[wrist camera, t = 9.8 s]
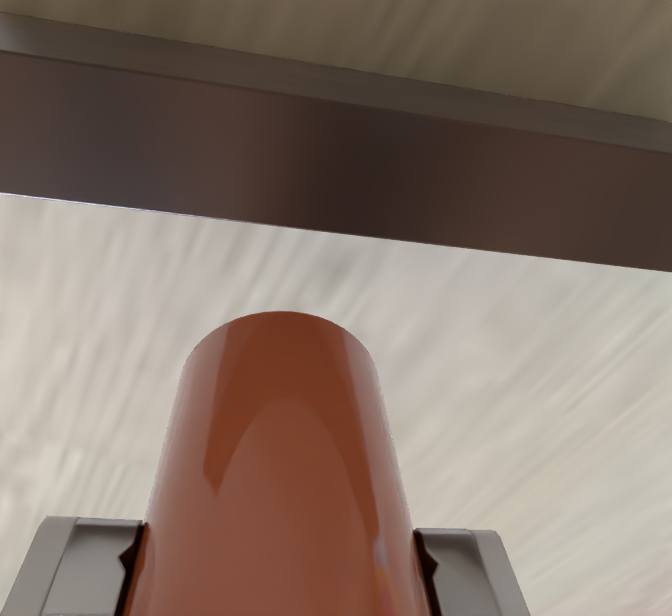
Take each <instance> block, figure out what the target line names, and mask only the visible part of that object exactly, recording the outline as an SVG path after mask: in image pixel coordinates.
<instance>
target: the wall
mask: <svg viewBox="0 0 672 616" xmlns="http://www.w3.org/2000/svg"><path fill="white" fill-rule="evenodd" d="M0 194H5V195H13V196H22V197H31V198H39V199H48V200H56V201H65V202H73V203H82V204H91V205H99V206H108V207H116V208H125V209H134V210H142V211H151V212H159V213H168V214H176V215H185V216H194V217H202V218H211V219H219V220H228V221H236V222H245V223H254V224H262V225H271V226H279V227H288V228H296V229H305V230H314V231H322V232H331V233H339V234H348V235H356V236H365V237H374V238H382V239H391V240H399V241H408V242H416V243H425V244H434V245H442V246H451V247H459V248H468V249H476V250H485V251H494V252H502V253H511V254H519V255H528V256H536V257H545V258H554V259H562V260H571V261H579V262H588V263H597V264H605V265H614V266H622V267H631V268H639V269H648V270H657V271H665V272H672V123H671V122H668V121H663V120H657V119H651V118H645V117H639V116H633V115H627V114H621V113H614V112H608V111H602V110H596V109H590V108H584V107H578V106H572V105H566V104H559V103H553V102H547V101H541V100H535V99H529V98H523V97H517V96H511V95H504V94H498V93H492V92H486V91H480V90H474V89H468V88H462V87H456V86H449V85H443V84H437V83H431V82H425V81H419V80H413V79H407V78H401V77H394V76H388V75H382V74H376V73H370V72H364V71H358V70H352V69H346V68H339V67H333V66H327V65H321V64H315V63H309V62H303V61H297V60H291V59H284V58H278V57H272V56H266V55H260V54H254V53H248V52H242V51H236V50H229V49H223V48H217V47H211V46H205V45H199V44H193V43H187V42H181V41H174V40H168V39H162V38H156V37H150V36H144V35H138V34H132V33H126V32H119V31H113V30H107V29H101V28H95V27H89V26H83V25H77V24H71V23H64V22H58V21H52V20H46V19H40V18H34V17H28V16H22V15H16V14H9V13H3V12H0Z"/></svg>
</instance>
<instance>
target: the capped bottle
mask: <svg viewBox="0 0 672 616" xmlns="http://www.w3.org/2000/svg"><path fill="white" fill-rule="evenodd" d="M120 616H433V613H432V609H431V604H430V600H429V596H428V591H427V587H426V583H425V578H424V574H423V570H422V565H421V561H420V556H419V552H418V548H417V543H416V539H415V535H414V530H413V526H412V521H411V517H410V513H409V508H408V504H407V500H406V495H405V491H404V486H403V482H402V478H401V473H400V469H399V465H398V460H397V456H396V452H395V447H394V443H393V438H392V434H391V430H390V425H389V421H388V417H387V412H386V408H385V403H384V399H383V395H382V390H381V386H380V382H379V377H378V373H377V370H376V367H375V364H374V361H373V360H372V358H371V356H370V354H369V352H368V351H367V350H366V348H365V347H364V346H363V344H362V343H361V342H360V341H358V340H357V339H356V338H355V337H354V336H353V335H352V334H351V333H349V332H348V331H346V330H345V329H344V328H342V327H340V326H338V325H337V324H335V323H333V322H331V321H328V320H326V319H323V318H321V317H318V316H314V315H310V314H307V313H300V312H293V311H270V312H261V313H256V314H250V315H247V316H244V317H240V318H237V319H235V320H233V321H230V322H228V323H226V324H224V325H222V326H221V327H219V328H217V329H216V330H214V331H213V332H211V333H210V334H209V335H208V336H206V337H205V338H204V339H203V340H202V341H201V342H200V343H199V344H198V345H197V346H196V347H195V348H194V349H193V351H192V352H191V354H190V355H189V357H188V358H187V360H186V363H185V365H184V367H183V370H182V373H181V377H180V381H179V385H178V389H177V393H176V397H175V401H174V405H173V408H172V412H171V416H170V420H169V424H168V428H167V432H166V436H165V440H164V444H163V448H162V452H161V456H160V460H159V464H158V468H157V472H156V476H155V480H154V483H153V487H152V491H151V495H150V499H149V503H148V507H147V511H146V515H145V519H144V523H143V528H142V532H141V536H140V540H139V544H138V548H137V551H136V555H135V559H134V563H133V567H132V570H131V574H130V578H129V582H128V586H127V591H126V595H125V599H124V603H123V607H122V611H121V615H120Z"/></svg>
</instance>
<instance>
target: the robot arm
mask: <svg viewBox="0 0 672 616" xmlns="http://www.w3.org/2000/svg"><path fill="white" fill-rule="evenodd" d="M142 528H143V521H142V520H125V519H103V518H81V517H60V516H47V517H46V518H45V519H44V521H43V522H42V523H41V524H40V526H39V528H38V530H37V532H36V534H35V537H34V539H33V541H32V544H31V546H30V548H29V550H28V553H27V555H26V557H25V559H24V562H23V564H22V566H21V568H20V571H19V573H18V575H17V578H16V580H15V582H14V584H13V587H12V589H11V591H10V593H9V596H8V598H7V600H6V602H5V605H4V607H3V609H2V612H1V614H0V616H120V615H121V611H122V607H123V603H124V599H125V595H126V591H127V586H128V582H129V578H130V574H131V570H132V567H133V563H134V559H135V555H136V551H137V548H138V544H139V540H140V536H141V532H142ZM414 535H415V539H416V543H417V548H418V552H419V556H420V561H421V565H422V570H423V574H424V578H425V583H426V587H427V591H428V596H429V600H430V604H431V609H432V613H433V616H530V613H529V610H528V608H527V605H526V603H525V600H524V597H523V595H522V592H521V590H520V587H519V585H518V582H517V579H516V577H515V574H514V572H513V569H512V566H511V564H510V561H509V559H508V556H507V553H506V551H505V548H504V546H503V543H502V541H501V538H500V536H499V535H498V534H497V532H496V531H493V530H467V529H445V528H416V529H415V530H414Z"/></svg>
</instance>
